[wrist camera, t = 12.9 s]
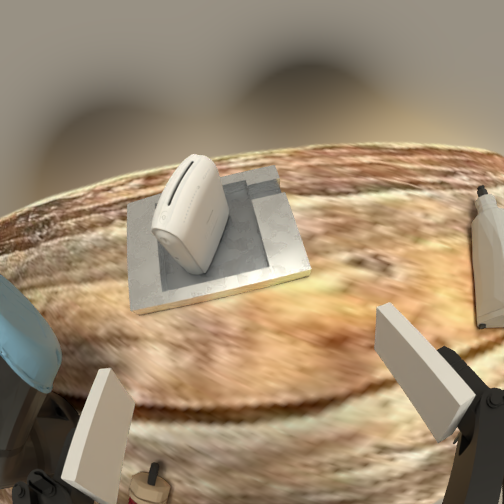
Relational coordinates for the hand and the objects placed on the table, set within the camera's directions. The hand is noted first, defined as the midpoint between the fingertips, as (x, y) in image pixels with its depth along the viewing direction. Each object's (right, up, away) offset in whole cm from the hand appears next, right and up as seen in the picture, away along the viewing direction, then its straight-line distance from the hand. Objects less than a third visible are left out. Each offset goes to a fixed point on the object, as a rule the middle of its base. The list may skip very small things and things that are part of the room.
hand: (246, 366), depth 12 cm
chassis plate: (-5, +7, +25) cm, 26 cm away
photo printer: (-6, +7, +25) cm, 26 cm away
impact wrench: (+45, +3, +19) cm, 49 cm away
